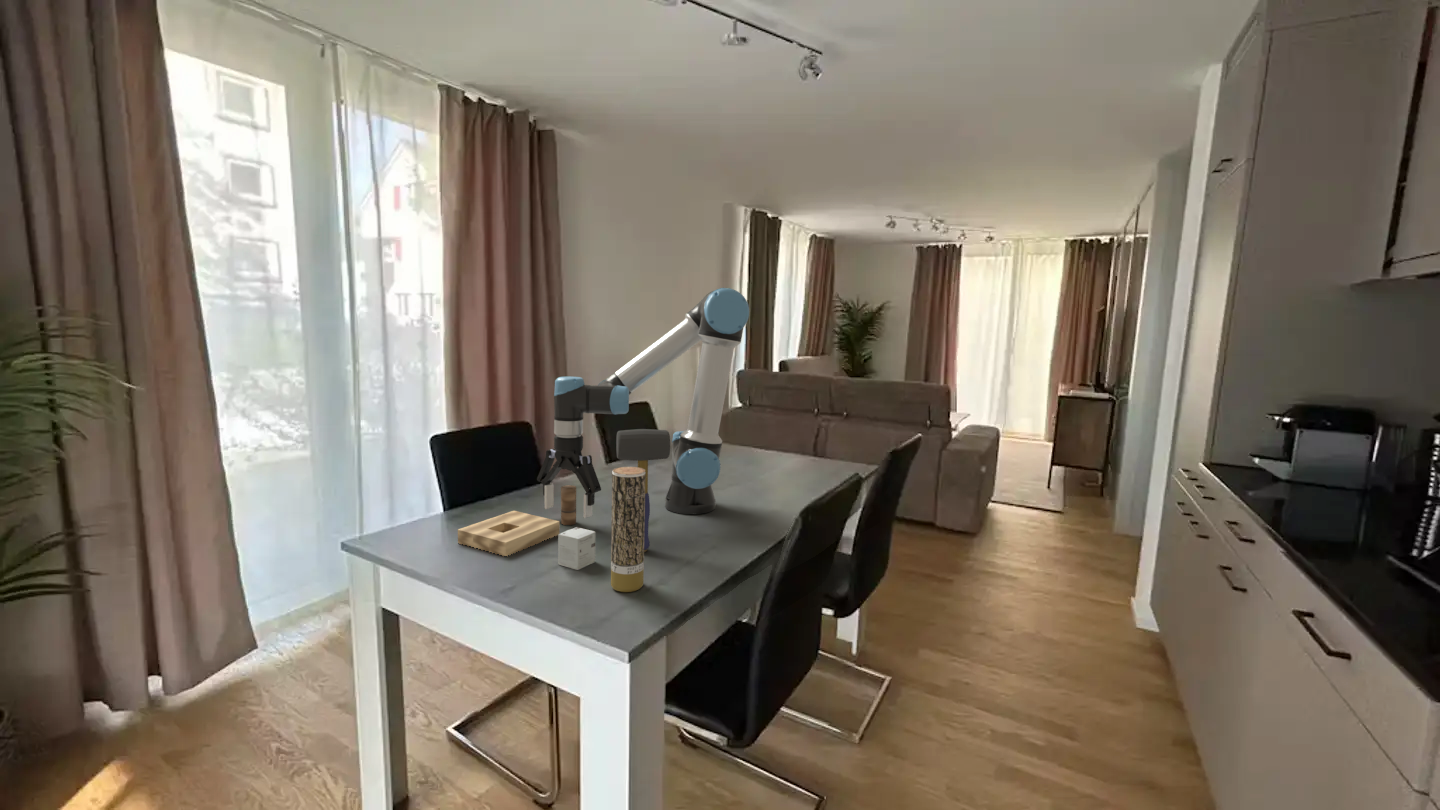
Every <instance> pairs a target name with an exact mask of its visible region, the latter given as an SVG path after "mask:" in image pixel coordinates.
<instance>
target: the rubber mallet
mask: <svg viewBox="0 0 1440 810" xmlns="http://www.w3.org/2000/svg"><path fill="white" fill-rule="evenodd" d="M670 435H671V434H670V432H669V430H666V429H655V428H654V429H653V428H652V429H650V428H647V429H646V428H637V429H625V430H618V431H617V432H616V439H615V440H616V442H615V444H616V447H615V448H616V449H615V450H616V458H617V459H618V460H621V461H637V467H639V468H643V469H645V473H646V476H645V530H644V553H646V552H648V549H649V548H650V545H651V544H650V538H649V522H650V521H649V520H650V513H651V512H650V511H651V503H650V495H649V489H648V487H649V484H648V483H649V481H648V480H649V461H656V460H665V459H668V458H669V457H670V454H671V436H670Z"/></svg>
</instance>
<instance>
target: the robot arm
mask: <svg viewBox="0 0 1440 810" xmlns="http://www.w3.org/2000/svg"><path fill="white" fill-rule="evenodd" d="M749 307H750V306H749V303H748V301H747V299H746V297H745V296H744V295H743V294H742V293H741V292H740V291H738V290H735V289H733V288H730V287H728V288H727V287H720V288H716V289H715V290H711V291H710V292H708V293H706V295H705V296H703V298H702V299H701V300H700V301H699V302H698V303H697V304H696V305H695V306H694V307H692V308H691V309H690V310H689V311H688V312H686V313H685V315H684V318H683V320H682V321H681V322H679V323H678V324H676V325H675V326H674V327H672V329H670V330H669V331H667V332H666V333H665V334H663V335H662V336H661V337H660V338H658V339H657V340H655V341H654V342H653V343H652V344H650V345H649V346H648V347H646V348H645V349H643V350H642V352H640V353H639V354H637V355H635V357H634V358H631V360H629V361H628V362H627V363H625V364H624V365H623V366H621V367H620V368H619V369H618V370H616V371H615V372H614V373H612V374H611V375H609V376H608V377H607V378H606V379H604V380H602V381H600V382H599V383H598V384H597V385H592V384H591V385H589V384H585V379H584V378H583V377H581V376H572V375H571V376H569V375H568V376H559V377H557V378H556V379H555V380H554V394H553V399H554V400H553V401H554V403H553V404H554V405H553V406H554V407H553V410H554V411H553V412H554V413H553V414H554V423H553V433H554V435H555V436H553V448H551V449H547V450H545V458H544V460H543V463H542V465H541V467H540V470H539V472H538V475H537V477H536V481H537V482H540V483H541V484H542V494H543V496H544V509H545V510H548V509H551V508H553V507H554V505H555V504H554V502H555V501H554V494H555V493H554V492H555V490H554V483H553V480H554V479H555V478H556V476H557V475H558V474H559V473H560V472H561V470H567V471H572V473H574V474H575V476H576V478H577V479H578V481H579V482H580V484H581V486H582V488H583V490H584V491H585V493H583V511H582V513H583V514H582V516H583V519H587V518H589V517H592V516H593V506H594V505H595V494H596V493H598V492H600V491H602V487H601V484H600V481H599V478H598V476H597V473H596V471H595V467H594V465H593V458H592V457H593V456H592V455H591V454H589V455H583V454H582V451H583V449H584V436H583V433H584V414H604V415H614V416H615V415H616V416H617V415H626V414H627V413H628V412H629V409H630V407H629V406H630V404H629V403H630V395H631V394H632V393H633V392H634V391H636V390H637V389H639V388H640V387H641V386H642V385H644V384H645V383H646V382H648V381H649V380H651V379H652V378H653V377H654V376H656V375H657V374H658V373H659V372H661V371H663V369H665V368H667V366H669V365H670V364H671V363H673V362H674V361H676V360H677V359H679V357H681V356H682V355H683V354H685V353H686V352H687V351H689V350H690V349H691V348H693V347H694V346H695V345H697V344H698V343H700V342H701V343H702V344H701V350H700V356H699V362H698V365H697V371H696V372H697V373H696V377H695V383H694V389H693V394H692V401H691V406H690V412H689V416H688V417H689V418H688V422H687V428H686V429H685V430H683V431H681V430H680V431H679V430H677V431H675V432H674V433H673V434H672V440H671V443H672V444H671V445H672V448H671V449H672V450H671V481H670V485H669V487H668V490H667V493H666V496H665V500H664V501H665V502H664V507H665V509H666V510H668V511H670V512H672V513H677V514H684V515H702V514H707V513H710V512H713V511H714V510H715V509H716V505H717V504H716V503H717V501H716V497H715V494H714V493H715V492H714V489H713V486H712V485H713V484H714V483H716V481H717V479H718V478H719V476H720V473H721V468H722V467H721V461H720V457H721V451H722V445H723V439H722V438H721V436H719V431H720V426H721V420H722V415H723V409H724V403H725V400H726V399H725V398H726V393H727V388H728V384H729V383H728V382H729V377H730V372H731V367H732V361H733V360H732V359H733V356H734V352H735V351H734V349H735V348H736V347H737V346H739V345H740V344H741V343H742V337H743V333H744V328H745V326H746V324H747V322H748V321H749V317H750V308H749ZM555 460H556V461H555ZM554 461H555V462H554Z"/></svg>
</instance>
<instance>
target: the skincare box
mask: <svg viewBox="0 0 1440 810" xmlns="http://www.w3.org/2000/svg"><path fill="white" fill-rule="evenodd" d="M557 537H558V538H557V543H558V545H557V548H558V549H557V559H558V560H557V561H558V562H557V564H558V565H559V566H562V567H566V568H569V569H572V570H576V571H579V570H581V569H583V568H586V567H587V566H589V565H592V564H594V563H595V562H596V531H594V530H591V529H590V530H589V529H585V528H582V527H579V526H576V527H574V528H571V529H567V530H565V531H563V532H560V534H558V535H557Z"/></svg>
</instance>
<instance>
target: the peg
mask: <svg viewBox="0 0 1440 810" xmlns="http://www.w3.org/2000/svg"><path fill="white" fill-rule="evenodd" d="M560 524H561V525H562V524H563V525H562V526H566V525H570V526H574V525H576V524H577V486H576V485H568V484H567V485H563V486H561V487H560Z"/></svg>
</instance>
